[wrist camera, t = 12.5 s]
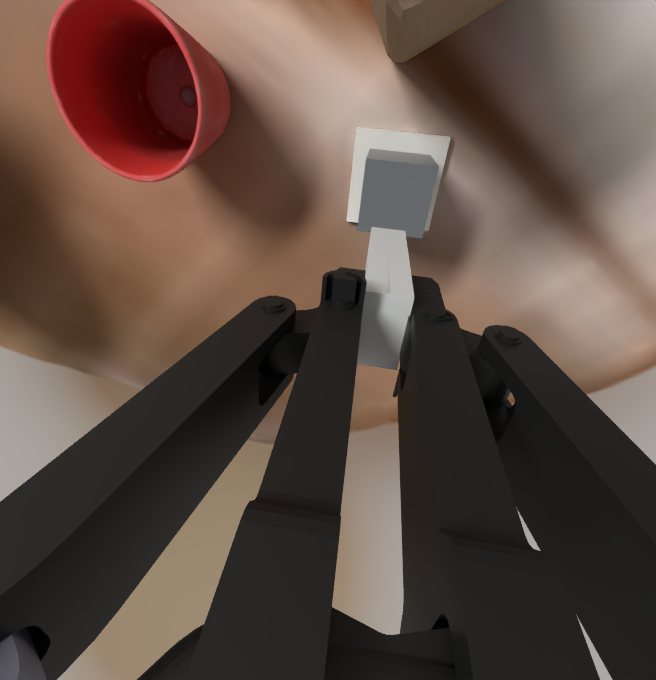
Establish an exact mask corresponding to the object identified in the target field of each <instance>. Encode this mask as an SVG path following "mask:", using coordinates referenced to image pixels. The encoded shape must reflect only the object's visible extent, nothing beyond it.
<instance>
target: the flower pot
mask: <svg viewBox="0 0 656 680" xmlns="http://www.w3.org/2000/svg"><path fill="white" fill-rule="evenodd" d="M47 69H48V76H49V82H50V85H51V89H52V93H53V96H54V99H55V101H56V104H57V106H58V109H59V111H60V113H61V115H62V117H63V119H64V121H65V123H66V124H67V126H68V128H69V129H70V131H71V132H72V134H73V135H74V137H75V138H76V139H77V140H78V142H79V143H80V144H81V145H82V147H83V148H84V149H85V150H86V151H87V152H88V153H89V154H90V155H91V156H92V157H93V158H94V159H95V160H97V161H98V162H99V163H100V164H102V165H103V166H104V167H106V168H107V169H109V170H111V171H112V172H114V173H116V174H118V175H120V176H122V177H125V178H127V179H131V180H135V181H140V182H157V181H162V180H165V179H168V178H170V177H172V176H174V175H176V174H177V173H179V172H180V171H182V170H183V169H184V168H186V167H187V166H188V165H190V164H191V163H192V162H193V161H194V160H195V159H196V158H198V157H199V156H200V155H201V154H202V153H203V152H204V151H205V150H206V149H208V148H209V147H210V146H211V145H212V144H213V143H214V142H215V141H216V140H217V139H218V138H219V137H220V136H221V134H222V133H223V132H224V130H225V128H226V126H227V124H228V121H229V117H230V112H231V97H230V90H229V86H228V83H227V80H226V77H225V75H224V73H223V71H222V69H221V67H220V66H219V64H218V63H217V61H216V60H215V59H214V58H213V56H212V55H211V54H210V53H209V52H208V51H207V50H206V49H205V48H204V47H203V46H201V45H200V44H199V43H198V42H197V41H196V40H195V39H194V38H193V37H192V36H191V35H190V34H188V33H187V32H186V31H185V30H184V29H183V28H182V27H180V26H179V25H178V24H177V23H176V22H175V21H173V20H172V19H171V18H170V17H169V16H168V15H166V14H165V13H164V12H163V11H162V10H160V9H159V8H158V7H157V6H155V5H154V4H153V3H151V2H150V1H148V0H66V1H65V2H64V3H63V4H62V5H61V6H60V8H59V9H58V11H57V12H56V14H55V16H54V18H53V21H52V23H51V26H50V30H49V34H48V40H47Z"/></svg>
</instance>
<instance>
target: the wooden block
mask: <svg viewBox="0 0 656 680" xmlns="http://www.w3.org/2000/svg"><path fill="white" fill-rule="evenodd" d="M505 1H507V0H370V3H371V6H372V9H373V12H374V15H375V18H376V21H377V24H378V27H379V30H380V33H381V36H382V39H383V42H384V46H385V49H386V52H387V55H388V56H389V57H390V58H391V60H392V61H393V62H394V63H402V62H406V61H408V60H409V59H411V58H413V57H414V56H416V55H418V54H419V53H421V52H423V51H424V50H426V49H427V48H429V47H431V46H432V45H434V44H436V43H437V42H439V41H441V40H442V39H444V38H446V37H447V36H449V35H451V34H452V33H454V32H456V31H457V30H459V29H460V28H462V27H464V26H465V25H467V24H469V23H470V22H472V21H474V20H475V19H477V18H479V17H480V16H482V15H484V14H485V13H487V12H489V11H490V10H492V9H493V8H495V7H497V6H498V5H500V4H502V3H503V2H505Z"/></svg>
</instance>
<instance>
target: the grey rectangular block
mask: <svg viewBox="0 0 656 680" xmlns="http://www.w3.org/2000/svg"><path fill="white" fill-rule="evenodd" d="M438 169H439V166H438V164H437V163H436V162H435V160H434V159H433V158H432V156H431V155H427V154H417V153H408V152H398V151H389V150H379V149H370V150H369V152H368V155H367V157H366V162H365V170H364V178H363V186H362V194H361V202H360V210H359V218H358V226H357V231H365V232H371V228H372V227H377V228H386V229H394V230H402V231H405V233H406V237H414V238H423V234H424V230H425V225H426V221H427V217H428V212H429V208H430V204H431V199H432V195H433V191H434V186H435V182H436V178H437V173H438Z"/></svg>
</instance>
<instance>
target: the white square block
mask: <svg viewBox="0 0 656 680" xmlns="http://www.w3.org/2000/svg"><path fill="white" fill-rule="evenodd" d="M450 138H451V137H450V136H441V135H431V134H421V133H412V132H402V131H392V130H382V129H372V128H363V127H357V128H356V137H355V146H354V156H353V165H352V174H351V184H350V193H349V203H348V212H347V221H348V222H356V223H358V218H359V210H360V202H361V194H362V186H363V178H364V170H365V162H366V157H367V155H368V152H369V150H370V149H379V150H389V151H398V152H408V153H417V154H427V155H431V156H432V158H433V159H434V160H435V162H436V163H437V164H438V166H439V169H438V173H437V178H436V182H435V186H434V191H433V195H432V199H431V204H430V208H429V212H428V217H427V221H426V225H425V230H424V231H429V227H430V223H431V218H432V214H433V210H434V206H435V202H436V197H437V193H438V189H439V185H440V181H441V176H442V172H443V168H444V164H445V159H446V155H447V151H448V147H449V143H450Z"/></svg>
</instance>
